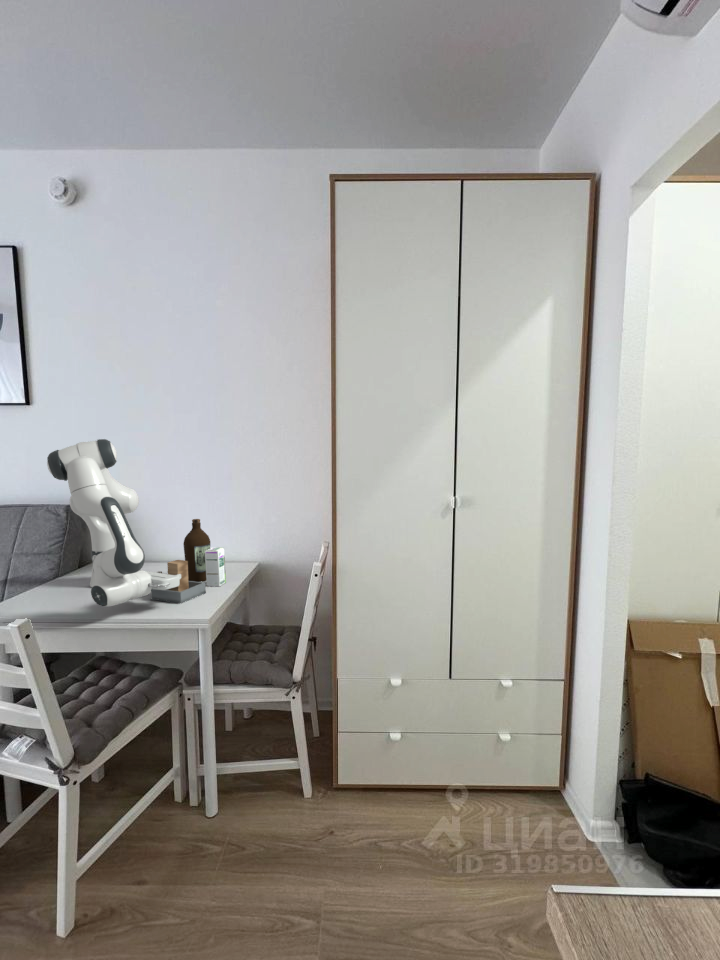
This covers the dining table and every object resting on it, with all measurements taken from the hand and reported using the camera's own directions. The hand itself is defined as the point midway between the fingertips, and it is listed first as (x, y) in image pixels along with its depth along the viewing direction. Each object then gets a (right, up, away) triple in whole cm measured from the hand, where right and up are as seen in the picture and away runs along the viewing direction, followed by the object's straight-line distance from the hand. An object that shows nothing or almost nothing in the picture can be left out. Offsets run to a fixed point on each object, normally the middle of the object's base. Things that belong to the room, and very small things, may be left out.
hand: (170, 574), depth 200 cm
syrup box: (+12, -8, +20) cm, 24 cm away
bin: (+2, -9, +4) cm, 10 cm away
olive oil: (+2, -7, +28) cm, 29 cm away
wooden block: (+2, -8, +4) cm, 9 cm away
